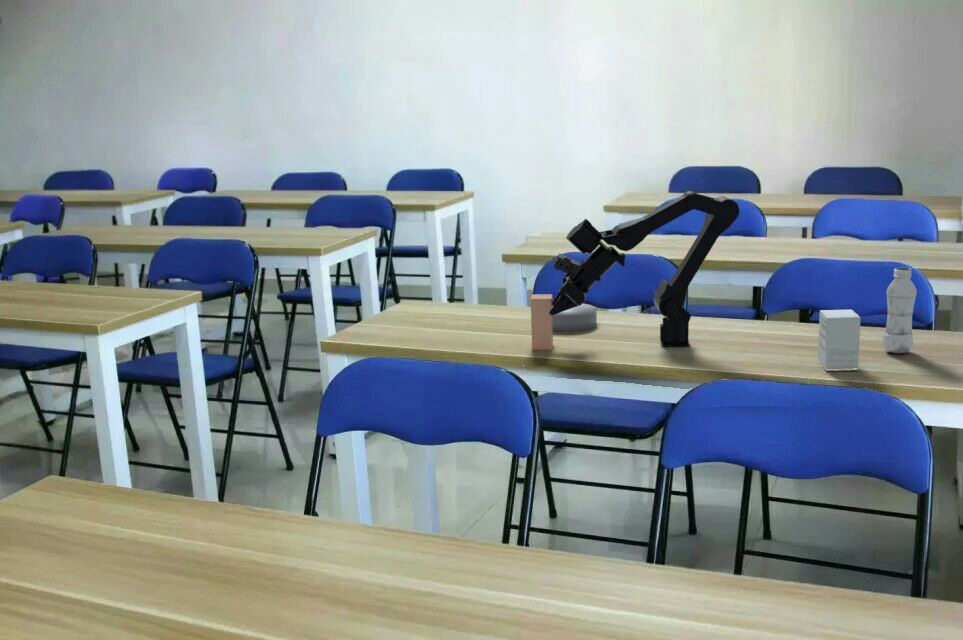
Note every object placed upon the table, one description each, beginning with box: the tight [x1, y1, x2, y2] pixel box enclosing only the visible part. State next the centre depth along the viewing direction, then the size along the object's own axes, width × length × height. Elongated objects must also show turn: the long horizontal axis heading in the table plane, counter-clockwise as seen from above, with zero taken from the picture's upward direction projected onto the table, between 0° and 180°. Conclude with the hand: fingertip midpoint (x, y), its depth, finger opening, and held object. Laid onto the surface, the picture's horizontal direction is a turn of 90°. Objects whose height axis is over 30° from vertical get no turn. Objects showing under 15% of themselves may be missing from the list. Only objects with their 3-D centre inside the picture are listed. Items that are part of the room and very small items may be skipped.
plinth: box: [553, 303, 598, 332], centre depth 273 cm, size 16×16×4 cm
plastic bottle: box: [882, 267, 918, 354], centre depth 233 cm, size 6×7×20 cm
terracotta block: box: [530, 293, 554, 351], centre depth 251 cm, size 5×5×13 cm
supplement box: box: [817, 309, 862, 369], centre depth 225 cm, size 7×7×13 cm
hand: (551, 309), depth 250 cm, fingers open, 9 cm apart
